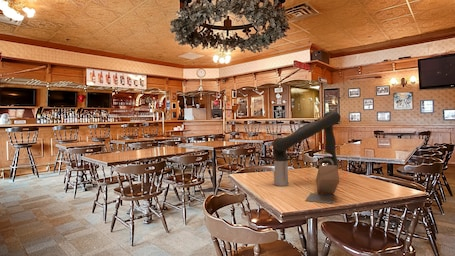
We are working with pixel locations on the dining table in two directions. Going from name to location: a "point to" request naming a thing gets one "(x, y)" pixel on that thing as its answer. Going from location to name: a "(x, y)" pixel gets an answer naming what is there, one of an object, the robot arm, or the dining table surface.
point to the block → (327, 179)
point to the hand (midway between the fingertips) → (323, 168)
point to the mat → (320, 198)
